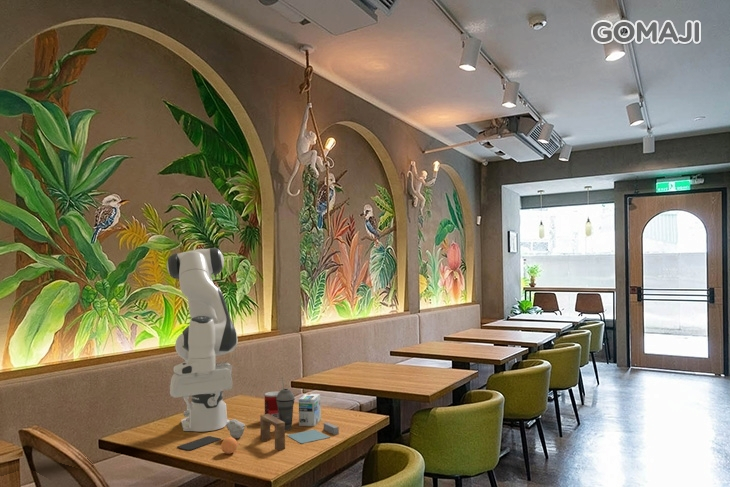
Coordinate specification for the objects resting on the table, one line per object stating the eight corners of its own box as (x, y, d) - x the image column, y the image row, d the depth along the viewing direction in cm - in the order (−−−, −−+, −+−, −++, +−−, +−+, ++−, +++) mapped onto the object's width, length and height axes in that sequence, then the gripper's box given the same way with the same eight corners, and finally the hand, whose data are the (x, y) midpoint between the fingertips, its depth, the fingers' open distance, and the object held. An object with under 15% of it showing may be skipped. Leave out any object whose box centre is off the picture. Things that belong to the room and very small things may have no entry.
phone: (222, 438, 197) (189, 450, 184) (222, 441, 197) (189, 452, 184) (208, 435, 201) (175, 446, 188) (208, 437, 201) (175, 449, 188)
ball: (219, 452, 182) (218, 437, 183) (234, 449, 185) (234, 434, 186) (224, 457, 178) (224, 441, 178) (239, 454, 181) (239, 437, 181)
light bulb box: (314, 426, 212) (314, 399, 212) (298, 426, 213) (298, 399, 213) (321, 419, 222) (321, 393, 223) (305, 418, 223) (305, 393, 224)
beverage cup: (291, 432, 205) (290, 379, 206) (273, 431, 206) (273, 379, 207) (297, 426, 212) (297, 376, 213) (280, 425, 213) (279, 375, 214)
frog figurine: (225, 437, 200) (225, 418, 200) (243, 434, 203) (243, 416, 203) (227, 441, 194) (227, 422, 195) (246, 439, 197) (246, 420, 197)
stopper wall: (323, 429, 207) (323, 423, 207) (328, 428, 208) (328, 422, 208) (334, 434, 201) (334, 428, 201) (338, 433, 202) (338, 427, 202)
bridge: (277, 450, 184) (277, 423, 184) (260, 440, 196) (260, 415, 196) (285, 448, 186) (284, 422, 186) (268, 438, 197) (267, 413, 198)
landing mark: (286, 435, 200) (286, 435, 200) (314, 429, 207) (314, 429, 207) (301, 443, 190) (301, 443, 190) (330, 437, 197) (330, 437, 197)
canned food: (287, 418, 224) (287, 392, 224) (274, 423, 217) (274, 396, 218) (273, 416, 228) (273, 390, 228) (260, 420, 221) (260, 394, 222)
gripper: (228, 360, 186) (228, 400, 186) (168, 367, 175) (168, 409, 174) (235, 363, 181) (235, 404, 180) (173, 370, 170) (173, 414, 169)
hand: (201, 407), depth 177 cm, fingers open, 7 cm apart
